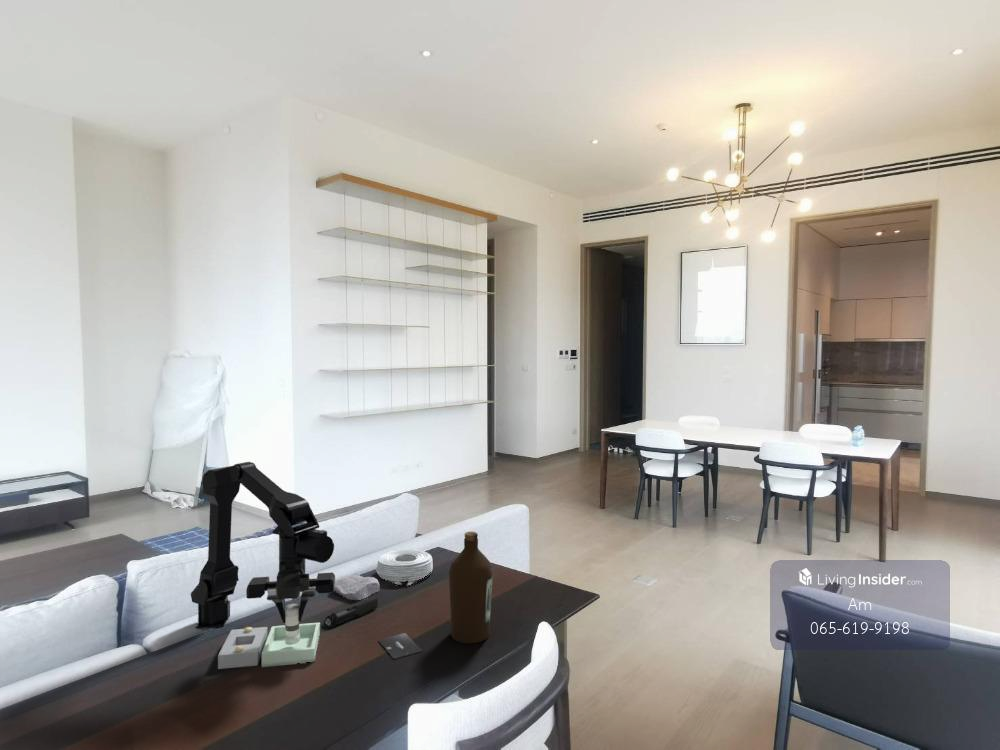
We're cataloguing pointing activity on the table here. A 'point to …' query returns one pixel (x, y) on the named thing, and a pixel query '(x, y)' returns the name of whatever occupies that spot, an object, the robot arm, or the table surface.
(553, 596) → the table surface
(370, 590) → the stone block
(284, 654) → the tray
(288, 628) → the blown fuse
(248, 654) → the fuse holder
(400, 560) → the cable
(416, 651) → the solid state drive
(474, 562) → the olive oil
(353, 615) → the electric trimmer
